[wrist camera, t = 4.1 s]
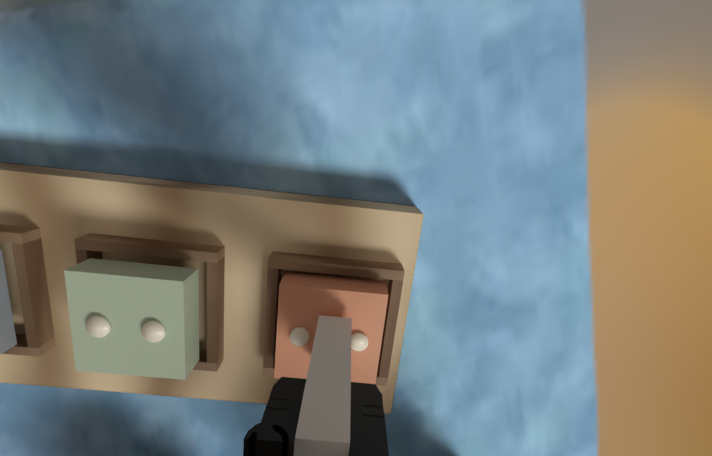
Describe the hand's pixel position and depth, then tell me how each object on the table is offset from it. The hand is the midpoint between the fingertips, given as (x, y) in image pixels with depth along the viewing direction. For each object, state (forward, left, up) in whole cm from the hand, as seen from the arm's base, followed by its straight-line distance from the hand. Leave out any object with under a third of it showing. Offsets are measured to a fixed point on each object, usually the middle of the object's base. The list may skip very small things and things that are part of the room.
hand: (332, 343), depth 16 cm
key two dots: (-9, 0, -1) cm, 9 cm away
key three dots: (0, 0, -2) cm, 2 cm away
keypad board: (-9, 0, -5) cm, 10 cm away
